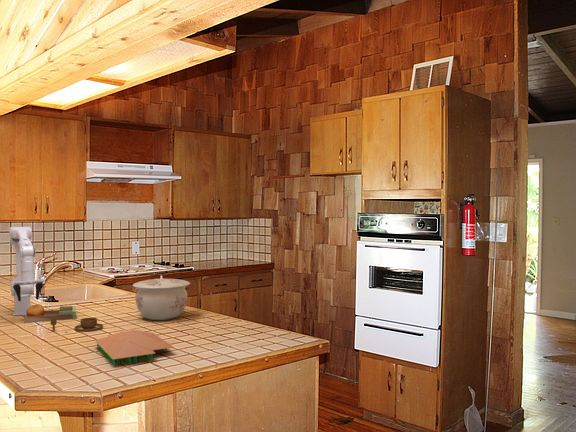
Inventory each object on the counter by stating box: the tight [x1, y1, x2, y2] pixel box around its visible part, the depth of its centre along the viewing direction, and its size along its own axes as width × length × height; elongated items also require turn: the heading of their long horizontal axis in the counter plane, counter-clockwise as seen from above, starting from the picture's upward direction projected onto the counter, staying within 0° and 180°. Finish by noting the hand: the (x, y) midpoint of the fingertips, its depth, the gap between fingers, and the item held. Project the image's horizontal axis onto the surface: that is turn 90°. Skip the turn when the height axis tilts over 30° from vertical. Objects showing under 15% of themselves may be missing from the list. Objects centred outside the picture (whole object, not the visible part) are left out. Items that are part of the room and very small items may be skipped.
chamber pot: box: [132, 275, 191, 322], centre depth 267 cm, size 28×28×21 cm
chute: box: [23, 305, 77, 324], centre depth 267 cm, size 14×23×4 cm, turn 112°
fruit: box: [26, 303, 46, 317], centre depth 265 cm, size 8×8×8 cm
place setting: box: [50, 317, 105, 334], centre depth 244 cm, size 18×20×6 cm
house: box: [94, 329, 174, 367], centre depth 206 cm, size 23×33×8 cm
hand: (28, 300), depth 258 cm, fingers open, 7 cm apart
